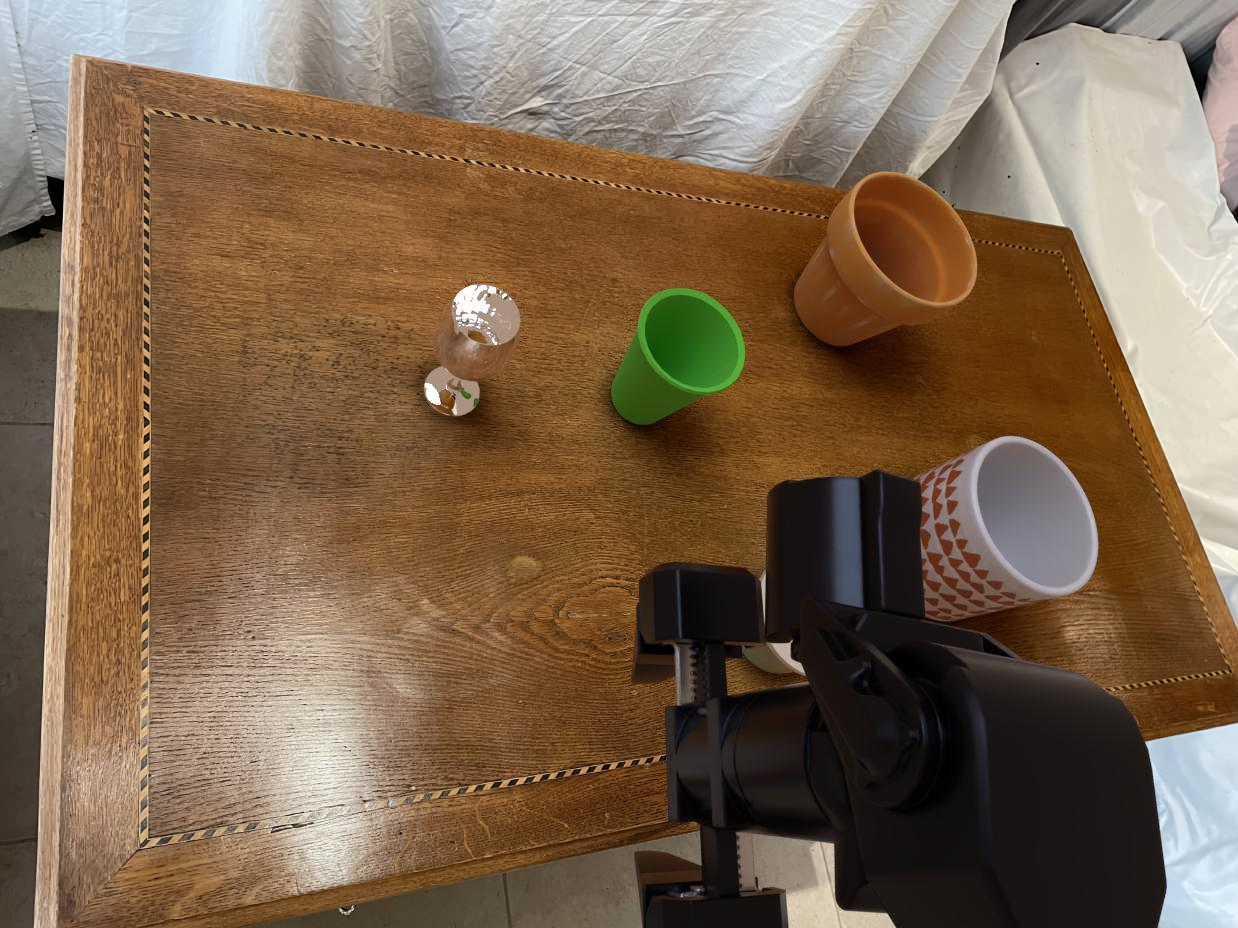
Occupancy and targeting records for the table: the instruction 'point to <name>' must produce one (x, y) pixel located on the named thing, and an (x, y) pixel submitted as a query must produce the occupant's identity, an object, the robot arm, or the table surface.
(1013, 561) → the planter
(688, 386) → the cup
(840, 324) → the flower pot
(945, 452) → the table surface
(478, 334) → the wineglass
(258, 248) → the table surface
